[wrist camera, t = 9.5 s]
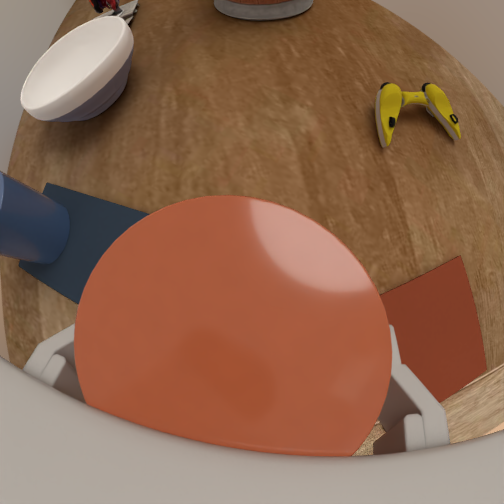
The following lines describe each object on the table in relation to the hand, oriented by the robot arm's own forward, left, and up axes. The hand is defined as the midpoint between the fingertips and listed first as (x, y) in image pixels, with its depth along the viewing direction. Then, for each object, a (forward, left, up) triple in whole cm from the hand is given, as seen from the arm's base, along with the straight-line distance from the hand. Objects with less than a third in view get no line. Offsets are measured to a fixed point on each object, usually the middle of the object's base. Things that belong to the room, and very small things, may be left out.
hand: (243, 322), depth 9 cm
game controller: (+21, +12, -13) cm, 27 cm away
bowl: (-10, +30, -13) cm, 34 cm away
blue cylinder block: (-18, +14, -12) cm, 26 cm away
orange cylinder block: (0, -1, -5) cm, 5 cm away
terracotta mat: (+13, -8, -13) cm, 20 cm away
